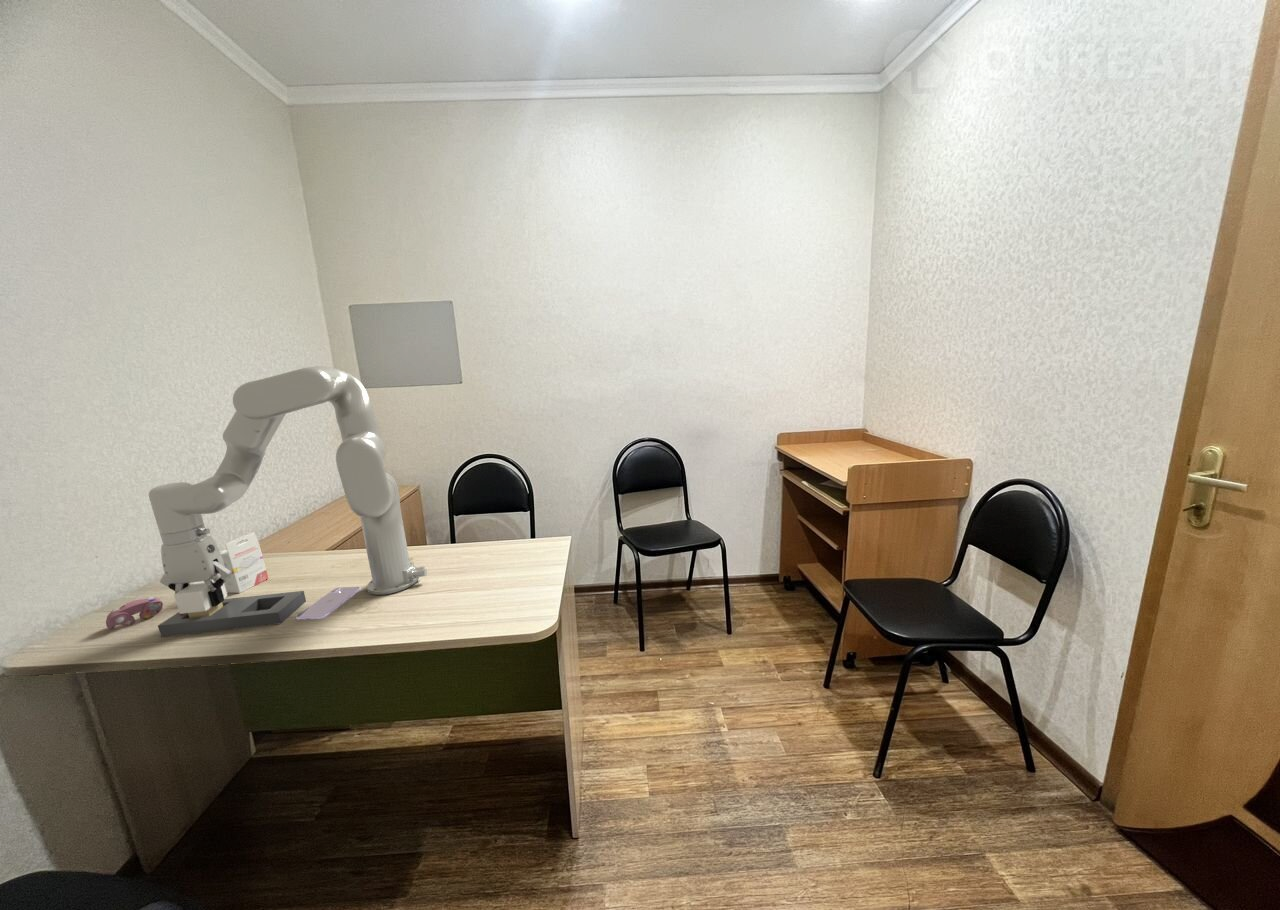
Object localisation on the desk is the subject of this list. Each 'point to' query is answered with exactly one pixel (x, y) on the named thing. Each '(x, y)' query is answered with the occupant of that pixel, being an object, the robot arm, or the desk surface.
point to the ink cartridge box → (243, 564)
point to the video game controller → (133, 612)
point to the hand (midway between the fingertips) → (204, 604)
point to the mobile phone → (328, 603)
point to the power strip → (237, 614)
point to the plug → (197, 600)
